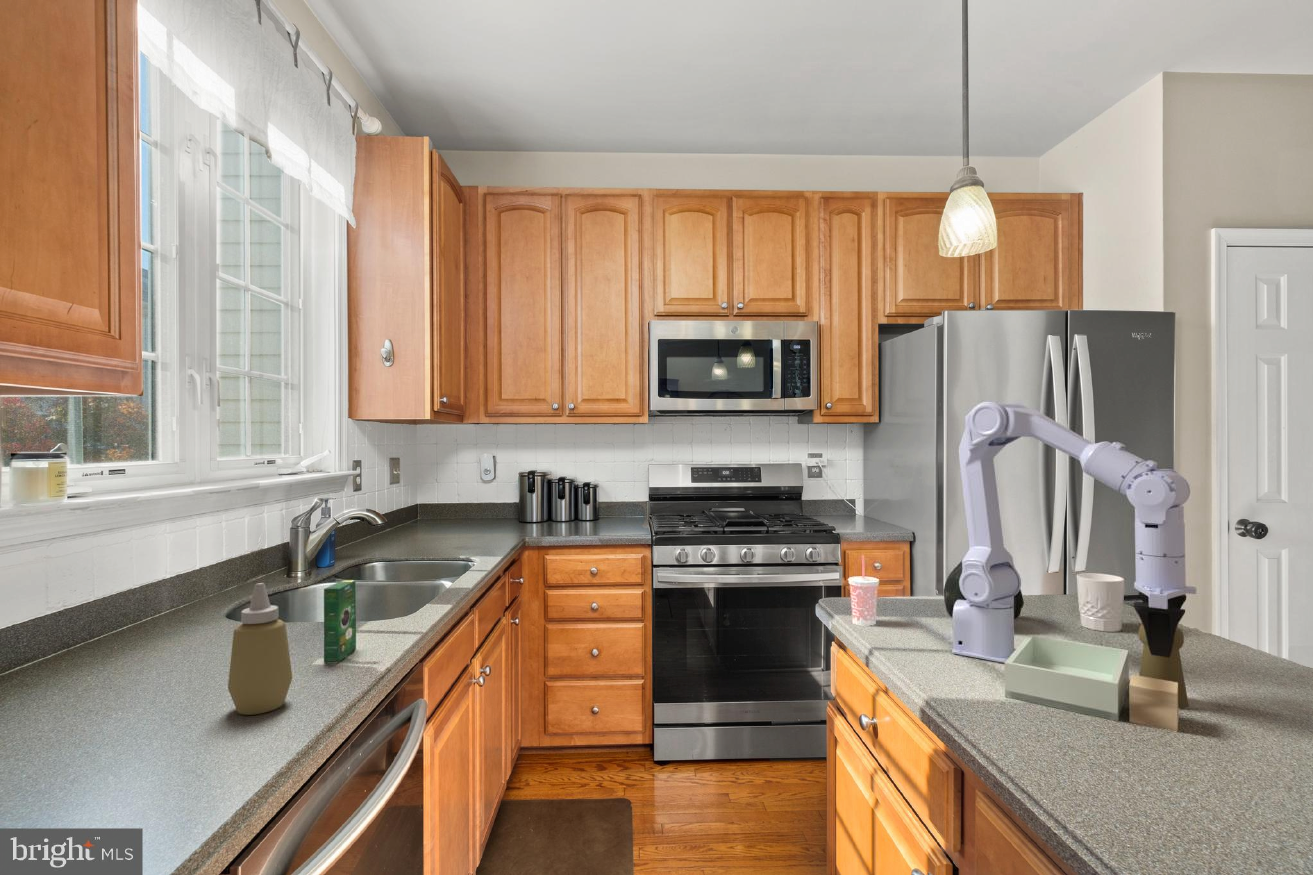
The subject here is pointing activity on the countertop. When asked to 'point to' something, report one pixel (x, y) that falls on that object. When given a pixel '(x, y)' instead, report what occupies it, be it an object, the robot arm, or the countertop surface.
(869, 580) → the beverage cup
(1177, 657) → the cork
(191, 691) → the countertop surface
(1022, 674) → the tote
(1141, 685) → the maple cube
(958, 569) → the squash
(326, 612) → the coffee box
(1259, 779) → the countertop surface
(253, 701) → the squeeze bottle
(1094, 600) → the white cup
